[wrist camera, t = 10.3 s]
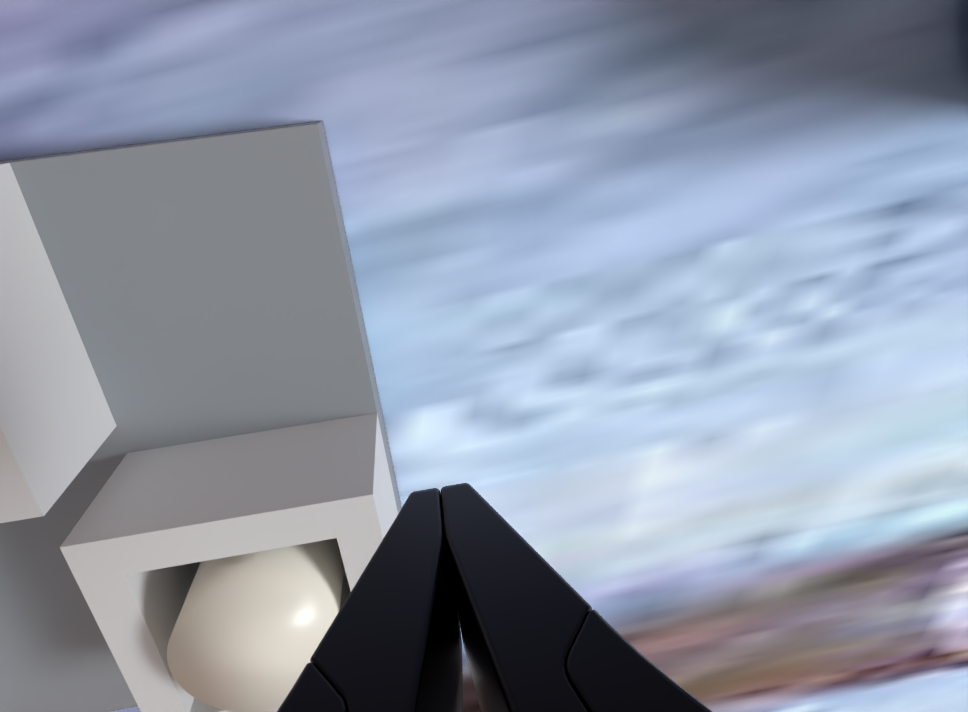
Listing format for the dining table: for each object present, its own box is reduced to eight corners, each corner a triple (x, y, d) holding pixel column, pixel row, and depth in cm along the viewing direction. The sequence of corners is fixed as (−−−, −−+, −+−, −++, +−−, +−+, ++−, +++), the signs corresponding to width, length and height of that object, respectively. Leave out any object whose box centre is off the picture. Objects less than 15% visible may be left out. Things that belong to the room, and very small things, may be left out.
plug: (358, 573, 23) (348, 695, 18) (234, 595, 23) (194, 725, 18) (332, 473, 21) (315, 580, 17) (198, 495, 21) (144, 611, 16)
